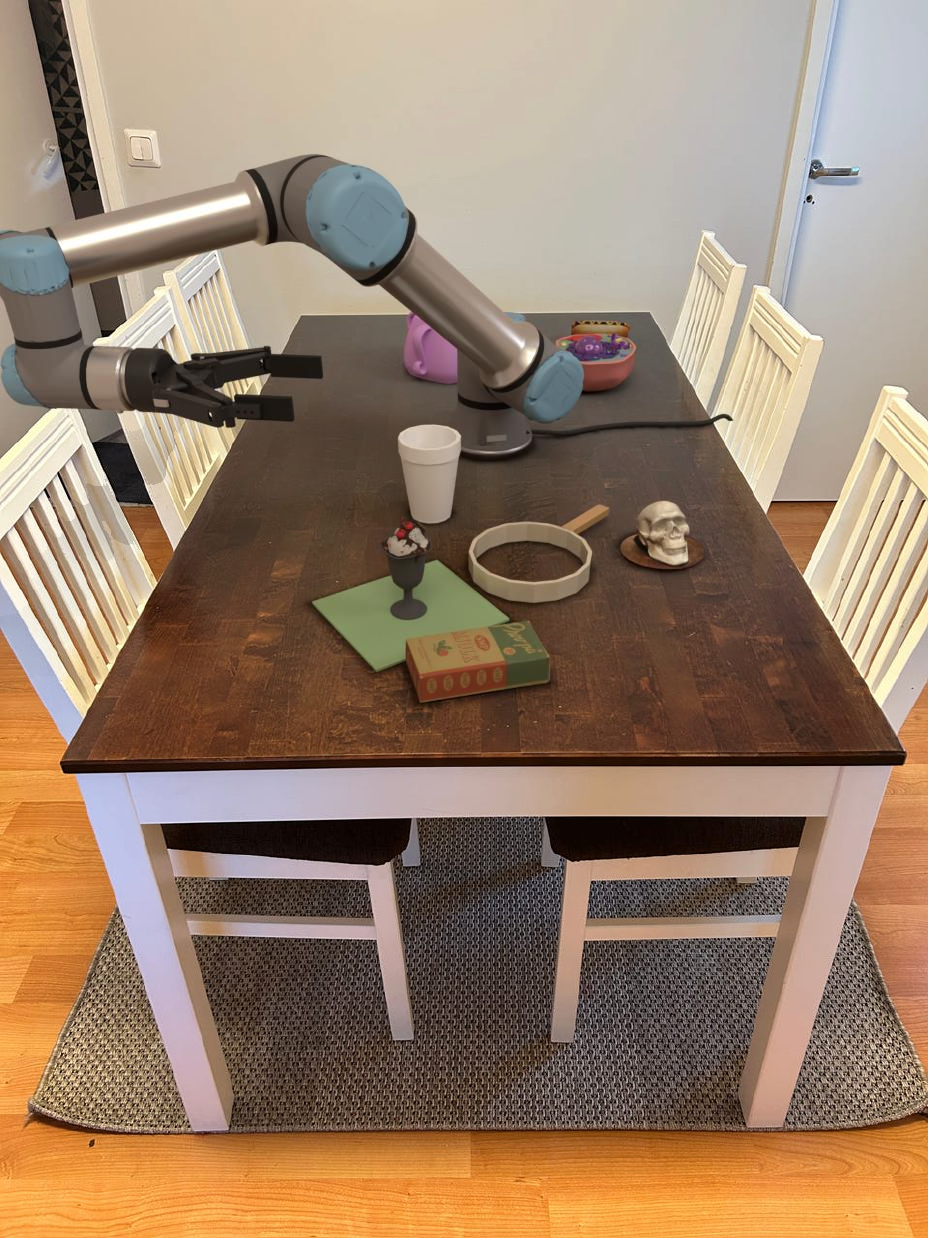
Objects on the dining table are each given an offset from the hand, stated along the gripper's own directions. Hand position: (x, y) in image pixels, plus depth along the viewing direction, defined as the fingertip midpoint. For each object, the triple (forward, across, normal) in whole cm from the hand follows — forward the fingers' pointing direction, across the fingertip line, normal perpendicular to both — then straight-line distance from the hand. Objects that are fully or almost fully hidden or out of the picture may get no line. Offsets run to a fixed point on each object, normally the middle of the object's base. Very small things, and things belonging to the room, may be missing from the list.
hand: (308, 387), depth 110 cm
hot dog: (+37, -112, -30) cm, 122 cm away
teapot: (+6, -90, -30) cm, 95 cm away
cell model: (+35, -85, -30) cm, 97 cm away
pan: (+30, -14, -30) cm, 45 cm away
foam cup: (+10, -26, -30) cm, 41 cm away
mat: (+11, +2, -30) cm, 32 cm away
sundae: (+11, +2, -30) cm, 32 cm away
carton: (+22, +14, -30) cm, 40 cm away
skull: (+46, -18, -30) cm, 58 cm away
